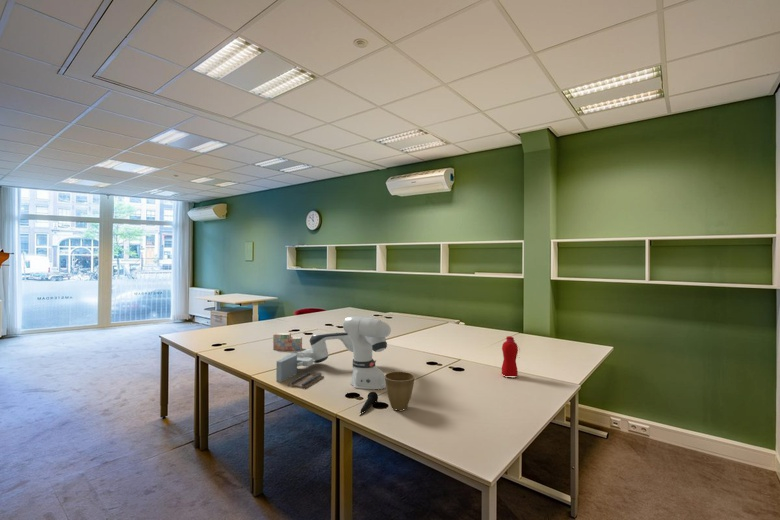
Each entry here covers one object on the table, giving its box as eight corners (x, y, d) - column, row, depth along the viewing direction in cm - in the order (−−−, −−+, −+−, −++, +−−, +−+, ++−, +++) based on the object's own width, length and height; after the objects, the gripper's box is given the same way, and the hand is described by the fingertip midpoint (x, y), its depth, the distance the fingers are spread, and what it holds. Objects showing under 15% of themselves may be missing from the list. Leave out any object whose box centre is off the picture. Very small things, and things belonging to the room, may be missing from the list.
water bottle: (521, 379, 225) (521, 338, 224) (502, 378, 227) (503, 337, 226) (518, 374, 234) (519, 335, 233) (501, 373, 236) (501, 334, 235)
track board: (323, 377, 224) (323, 373, 224) (305, 388, 205) (305, 384, 205) (306, 375, 228) (306, 371, 228) (287, 385, 209) (287, 381, 209)
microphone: (363, 422, 172) (378, 401, 191) (366, 412, 171) (380, 392, 189) (353, 417, 173) (368, 397, 192) (356, 407, 172) (371, 387, 191)
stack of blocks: (302, 348, 292) (302, 333, 291) (300, 350, 285) (300, 334, 285) (275, 347, 293) (275, 332, 292) (273, 350, 286) (273, 334, 286)
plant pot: (418, 412, 176) (419, 379, 176) (389, 415, 172) (389, 382, 172) (408, 400, 191) (408, 369, 190) (380, 403, 187) (381, 372, 186)
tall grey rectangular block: (297, 373, 231) (297, 354, 230) (281, 382, 216) (281, 361, 215) (292, 373, 232) (292, 354, 232) (276, 381, 217) (276, 361, 217)
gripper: (316, 364, 237) (304, 371, 224) (289, 361, 244) (276, 367, 231) (316, 355, 237) (304, 361, 224) (289, 352, 243) (276, 357, 230)
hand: (290, 364), depth 227 cm, fingers open, 8 cm apart
